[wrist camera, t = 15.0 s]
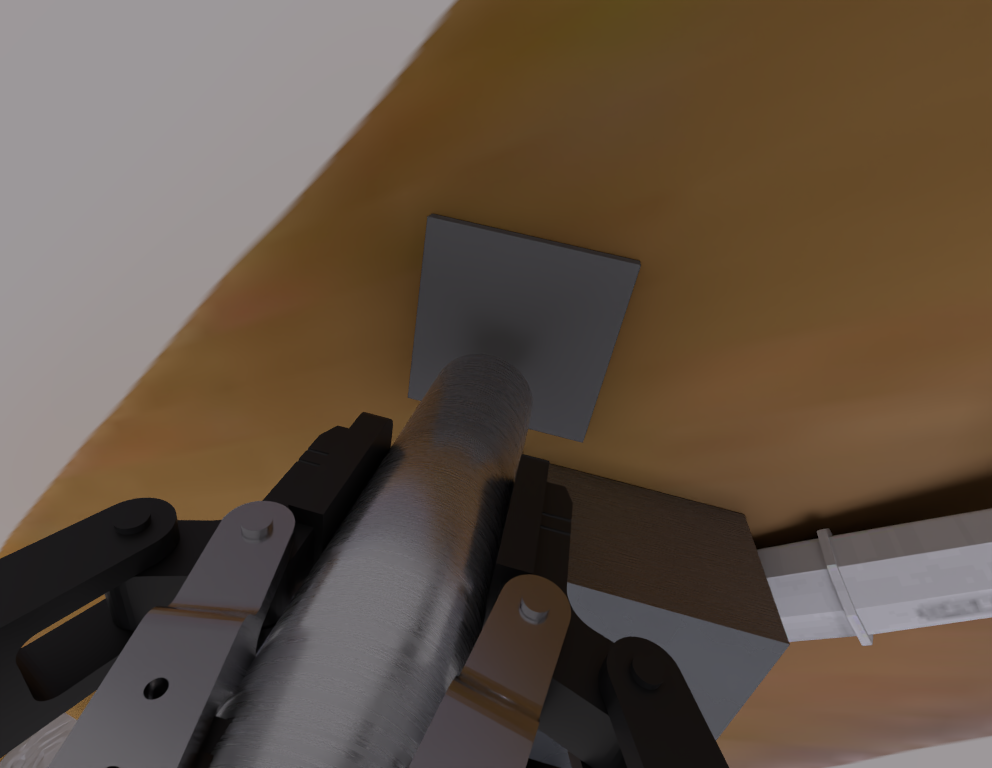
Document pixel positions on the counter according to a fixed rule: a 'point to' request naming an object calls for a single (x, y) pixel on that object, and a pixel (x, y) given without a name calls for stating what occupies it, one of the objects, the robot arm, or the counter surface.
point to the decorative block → (40, 745)
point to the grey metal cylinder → (391, 589)
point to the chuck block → (670, 590)
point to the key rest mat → (521, 314)
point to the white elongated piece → (883, 578)
